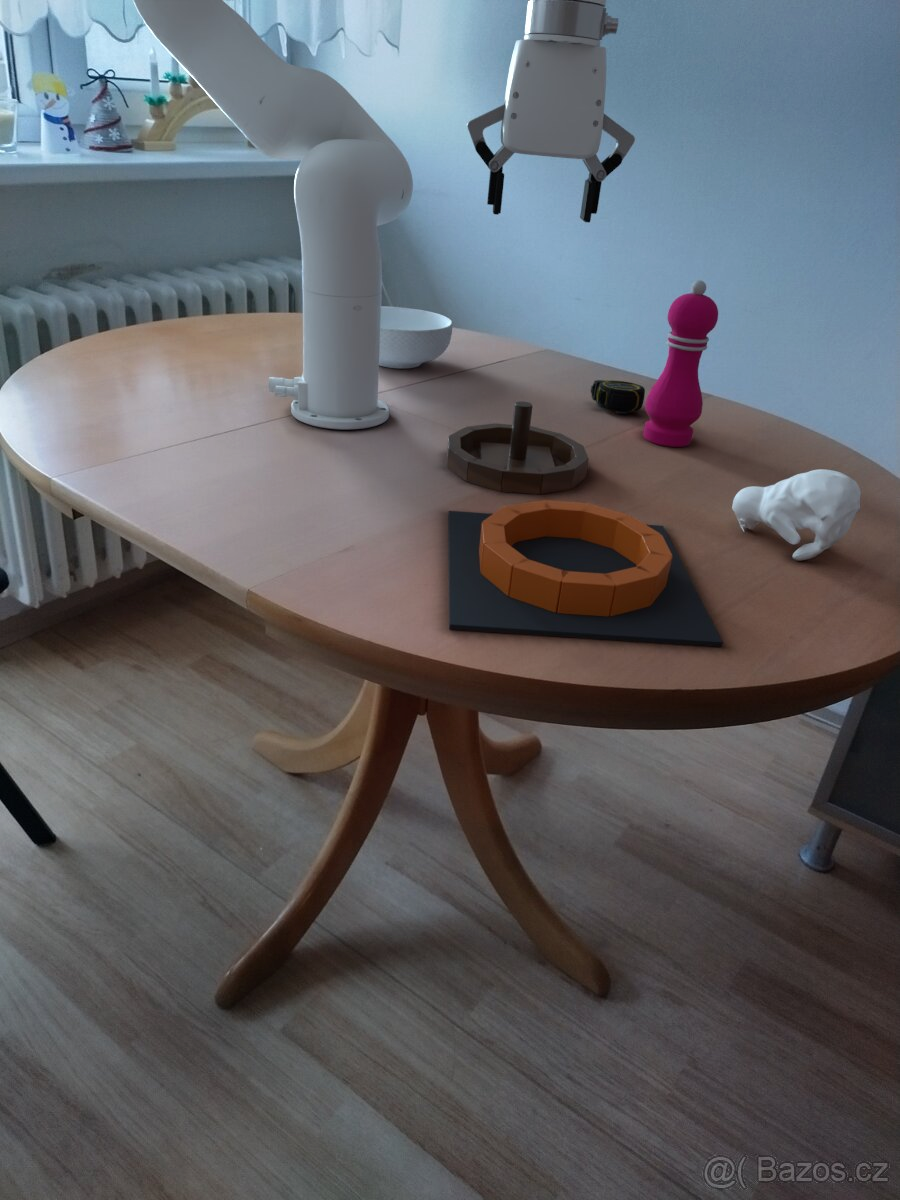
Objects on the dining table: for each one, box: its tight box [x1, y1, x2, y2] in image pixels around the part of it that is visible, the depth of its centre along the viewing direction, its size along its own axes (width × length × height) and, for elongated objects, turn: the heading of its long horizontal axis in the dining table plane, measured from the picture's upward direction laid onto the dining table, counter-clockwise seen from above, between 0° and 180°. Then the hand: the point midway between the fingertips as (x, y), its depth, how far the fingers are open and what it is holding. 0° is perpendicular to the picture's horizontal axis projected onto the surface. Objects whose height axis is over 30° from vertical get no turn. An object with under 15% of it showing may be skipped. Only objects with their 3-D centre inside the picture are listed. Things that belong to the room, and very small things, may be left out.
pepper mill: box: [642, 279, 719, 448], centre depth 109 cm, size 7×7×20 cm
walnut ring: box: [446, 422, 589, 495], centre depth 100 cm, size 16×16×2 cm
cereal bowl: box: [379, 305, 454, 370], centre depth 135 cm, size 17×17×7 cm
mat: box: [447, 510, 724, 648], centre depth 78 cm, size 22×22×1 cm
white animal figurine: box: [731, 468, 862, 561], centre depth 86 cm, size 6×8×12 cm
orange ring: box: [479, 499, 673, 617], centre depth 77 cm, size 17×17×3 cm
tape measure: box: [590, 379, 646, 414], centre depth 122 cm, size 7×7×4 cm
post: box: [478, 400, 556, 469], centre depth 99 cm, size 8×8×8 cm
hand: (540, 216), depth 93 cm, fingers open, 9 cm apart
